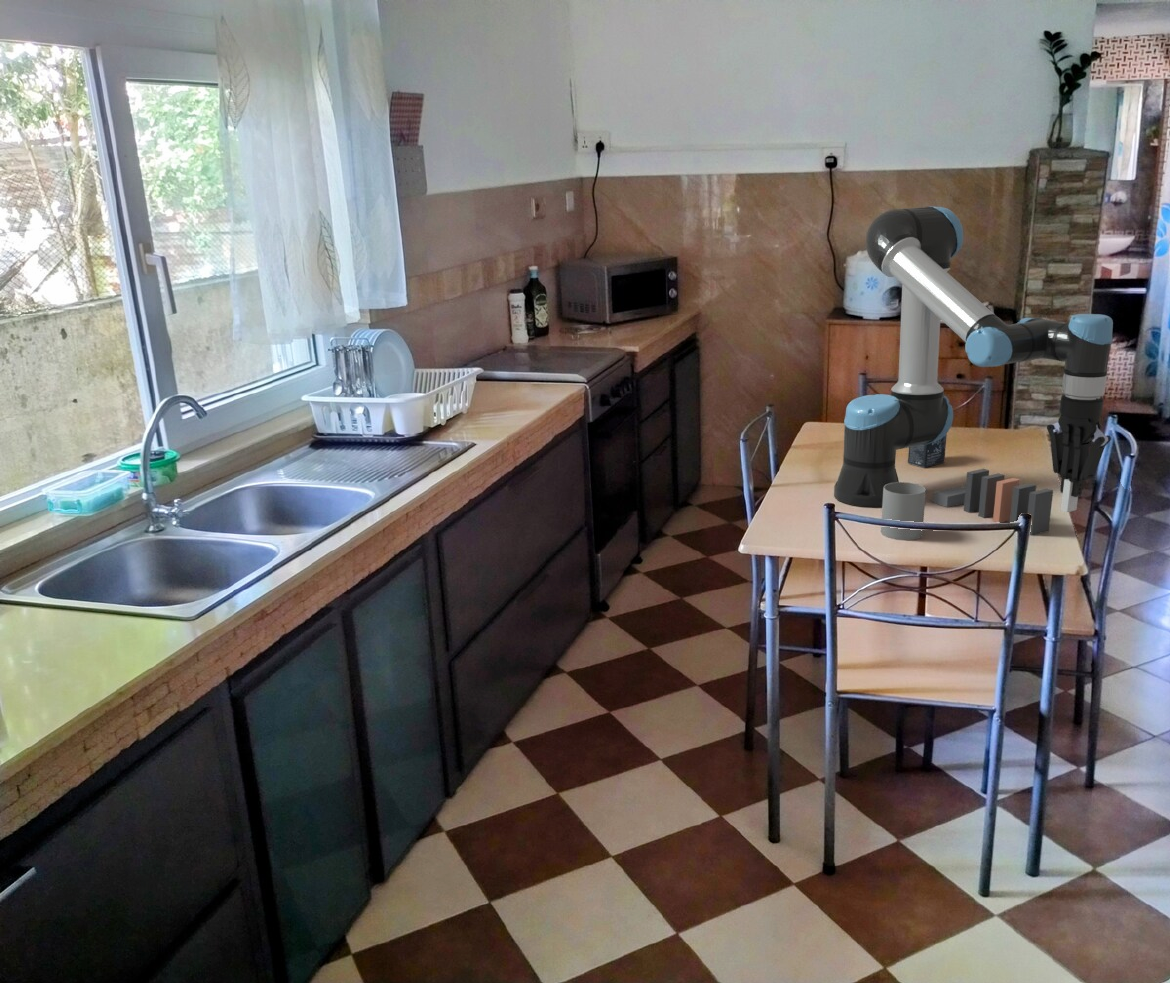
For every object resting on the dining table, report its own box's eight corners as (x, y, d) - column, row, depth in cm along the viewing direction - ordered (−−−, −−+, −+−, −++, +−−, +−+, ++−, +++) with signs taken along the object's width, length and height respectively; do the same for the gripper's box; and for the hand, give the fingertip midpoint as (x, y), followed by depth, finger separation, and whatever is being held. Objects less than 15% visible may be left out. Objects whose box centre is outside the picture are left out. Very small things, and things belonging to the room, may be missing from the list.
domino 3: (998, 523, 216) (1002, 483, 213) (992, 521, 218) (996, 481, 215) (1015, 519, 218) (1019, 479, 216) (1009, 517, 220) (1013, 477, 217)
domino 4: (1015, 529, 212) (1019, 489, 210) (1009, 527, 214) (1013, 487, 211) (1032, 525, 215) (1036, 485, 212) (1025, 523, 216) (1030, 483, 213)
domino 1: (969, 512, 223) (972, 473, 220) (963, 510, 225) (967, 472, 222) (985, 508, 225) (989, 470, 223) (980, 506, 227) (983, 468, 224)
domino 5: (1031, 535, 209) (1036, 494, 206) (1025, 533, 210) (1029, 492, 207) (1048, 531, 211) (1053, 490, 208) (1042, 528, 212) (1046, 488, 210)
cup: (905, 543, 207) (908, 497, 204) (872, 532, 214) (875, 487, 210) (930, 533, 212) (934, 488, 209) (898, 523, 218) (901, 479, 215)
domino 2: (983, 518, 220) (987, 478, 217) (978, 516, 221) (981, 476, 218) (1000, 514, 222) (1004, 475, 219) (994, 512, 223) (998, 473, 220)
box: (925, 468, 255) (928, 428, 252) (907, 463, 260) (909, 424, 257) (945, 463, 259) (948, 423, 256) (927, 458, 264) (930, 419, 261)
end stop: (946, 507, 227) (947, 496, 226) (933, 502, 230) (934, 492, 230) (972, 501, 230) (973, 490, 230) (959, 496, 234) (960, 486, 233)
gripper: (1126, 399, 191) (1110, 516, 199) (1067, 387, 202) (1054, 498, 210) (1099, 404, 188) (1083, 522, 196) (1041, 391, 199) (1028, 504, 207)
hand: (1068, 510), depth 203 cm, fingers closed
